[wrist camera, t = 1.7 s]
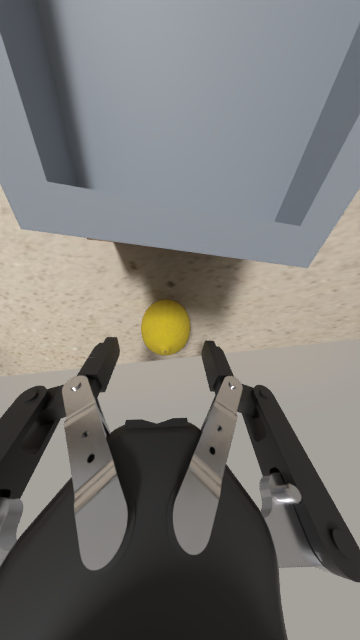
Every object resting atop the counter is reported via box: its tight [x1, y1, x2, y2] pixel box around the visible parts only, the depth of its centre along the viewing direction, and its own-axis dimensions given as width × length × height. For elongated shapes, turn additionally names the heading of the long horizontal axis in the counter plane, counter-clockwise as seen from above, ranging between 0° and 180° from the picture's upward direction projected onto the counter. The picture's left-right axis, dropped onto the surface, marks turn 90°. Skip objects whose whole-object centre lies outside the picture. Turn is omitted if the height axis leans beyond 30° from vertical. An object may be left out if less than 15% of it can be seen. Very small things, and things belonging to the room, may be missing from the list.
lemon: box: [141, 299, 190, 355], centre depth 15 cm, size 6×6×8 cm
